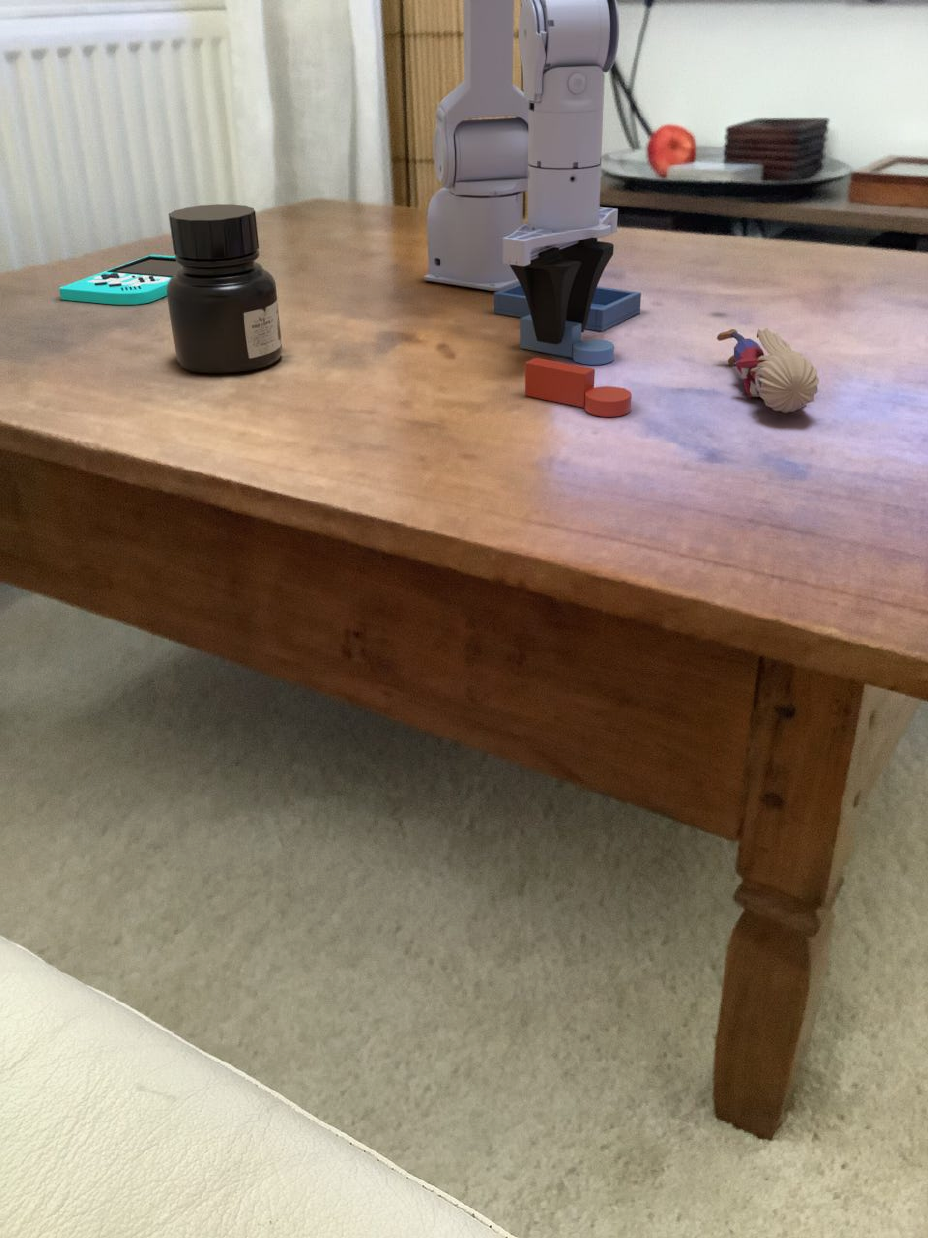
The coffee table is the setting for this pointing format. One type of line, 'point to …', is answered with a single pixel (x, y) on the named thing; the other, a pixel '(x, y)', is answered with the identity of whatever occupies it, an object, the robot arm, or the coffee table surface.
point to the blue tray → (603, 312)
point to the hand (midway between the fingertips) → (560, 336)
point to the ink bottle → (221, 292)
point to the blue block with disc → (568, 344)
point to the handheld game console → (125, 283)
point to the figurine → (773, 371)
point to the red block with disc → (574, 388)
